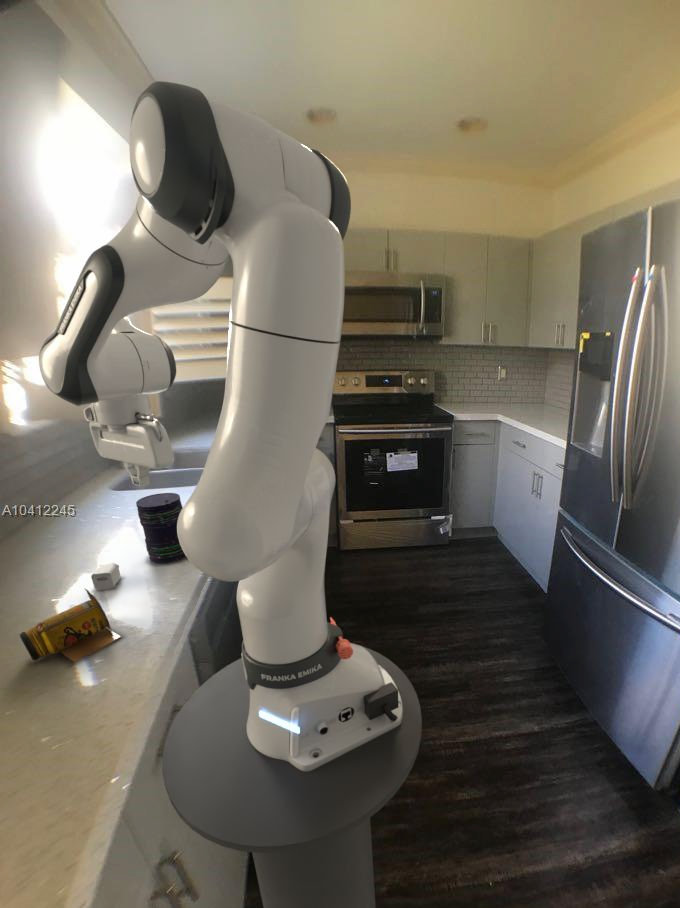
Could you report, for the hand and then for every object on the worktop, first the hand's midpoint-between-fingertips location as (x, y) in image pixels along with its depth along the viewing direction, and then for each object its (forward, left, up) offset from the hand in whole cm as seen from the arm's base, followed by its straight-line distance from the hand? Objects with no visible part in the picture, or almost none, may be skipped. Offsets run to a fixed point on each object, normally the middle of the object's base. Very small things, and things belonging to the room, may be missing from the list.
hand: (141, 484), depth 87 cm
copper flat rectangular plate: (+13, +10, -25) cm, 30 cm away
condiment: (+10, +7, -21) cm, 24 cm away
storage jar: (+1, -22, -25) cm, 34 cm away
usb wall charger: (+13, -13, -25) cm, 31 cm away
